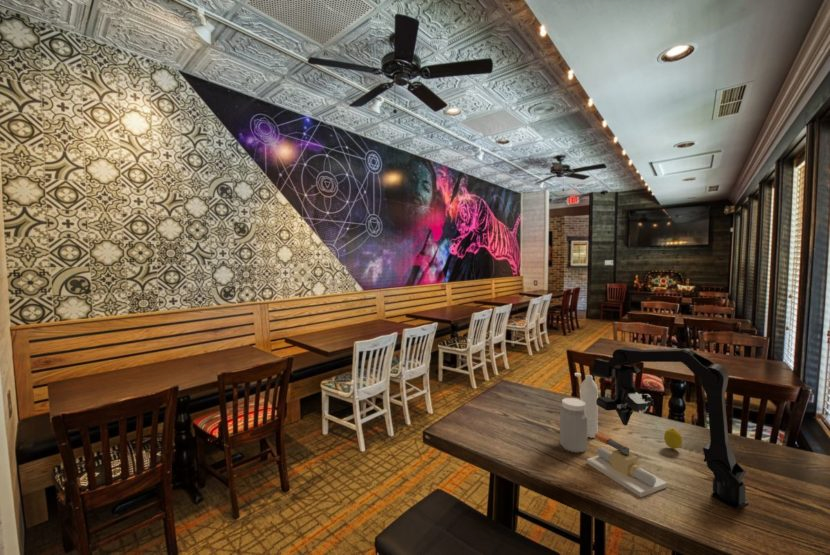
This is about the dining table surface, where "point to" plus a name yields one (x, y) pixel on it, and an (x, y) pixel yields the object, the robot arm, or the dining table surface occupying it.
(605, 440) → the lever
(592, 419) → the water bottle
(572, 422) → the jar
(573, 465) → the dining table surface
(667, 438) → the lemon
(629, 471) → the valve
